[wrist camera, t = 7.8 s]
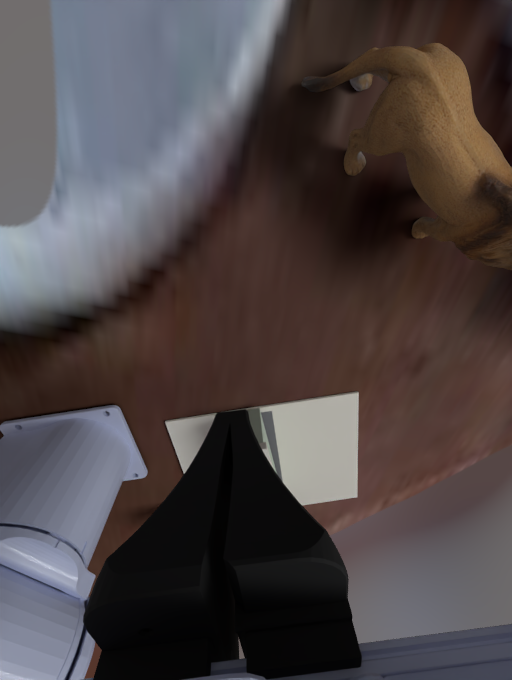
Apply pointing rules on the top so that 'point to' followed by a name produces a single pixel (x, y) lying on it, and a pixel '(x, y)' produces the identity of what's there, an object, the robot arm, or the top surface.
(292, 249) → the top surface
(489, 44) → the top surface
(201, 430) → the card
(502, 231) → the lion figurine
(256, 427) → the pale green long block
